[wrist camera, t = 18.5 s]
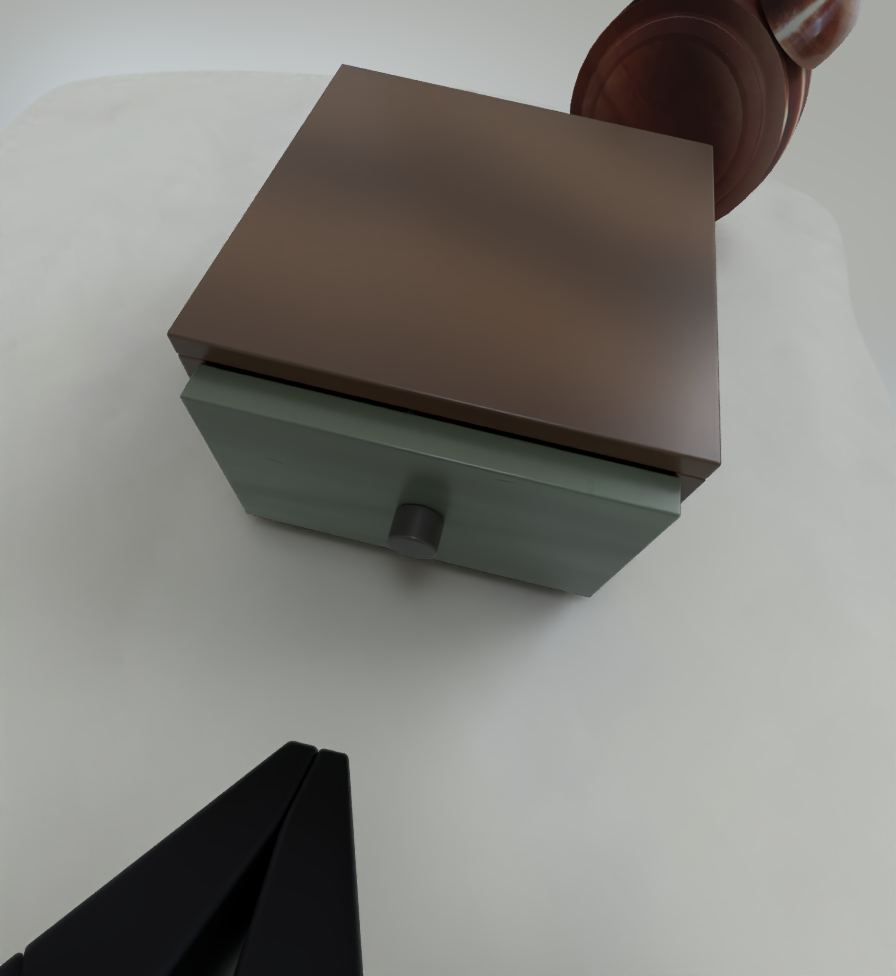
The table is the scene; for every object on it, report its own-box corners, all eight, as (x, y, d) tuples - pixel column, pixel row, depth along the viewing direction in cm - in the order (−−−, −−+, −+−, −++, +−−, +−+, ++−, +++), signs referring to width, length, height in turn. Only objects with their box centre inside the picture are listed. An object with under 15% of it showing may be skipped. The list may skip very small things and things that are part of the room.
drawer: (586, 629, 20) (681, 559, 13) (233, 542, 20) (156, 433, 13) (615, 338, 26) (686, 199, 20) (353, 277, 27) (339, 122, 20)
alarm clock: (730, 240, 32) (961, -126, 19) (699, 283, 30) (935, -95, 17) (574, 164, 35) (685, -210, 21) (536, 199, 33) (633, -191, 19)
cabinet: (600, 579, 21) (722, 465, 13) (249, 494, 22) (164, 333, 14) (623, 321, 28) (713, 144, 20) (356, 260, 29) (341, 62, 21)
